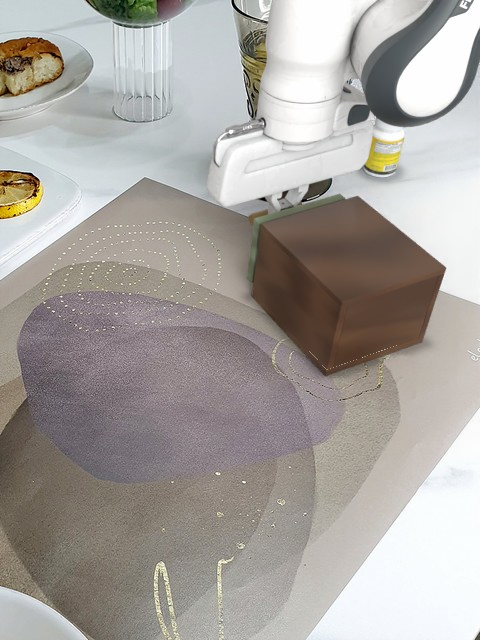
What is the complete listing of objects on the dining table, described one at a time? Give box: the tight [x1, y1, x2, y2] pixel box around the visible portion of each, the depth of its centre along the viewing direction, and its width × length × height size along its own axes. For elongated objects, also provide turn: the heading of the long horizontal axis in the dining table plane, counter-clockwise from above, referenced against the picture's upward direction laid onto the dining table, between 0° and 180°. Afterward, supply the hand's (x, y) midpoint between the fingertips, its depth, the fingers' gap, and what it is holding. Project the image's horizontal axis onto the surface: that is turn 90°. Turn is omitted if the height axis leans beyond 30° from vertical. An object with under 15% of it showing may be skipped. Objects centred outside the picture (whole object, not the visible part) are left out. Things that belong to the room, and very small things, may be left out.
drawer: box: [246, 193, 346, 284], centre depth 101 cm, size 19×12×9 cm, turn 23°
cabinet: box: [251, 195, 447, 377], centre depth 98 cm, size 16×13×11 cm
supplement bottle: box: [362, 117, 406, 178], centre depth 121 cm, size 5×5×8 cm
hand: (281, 216), depth 105 cm, fingers closed
